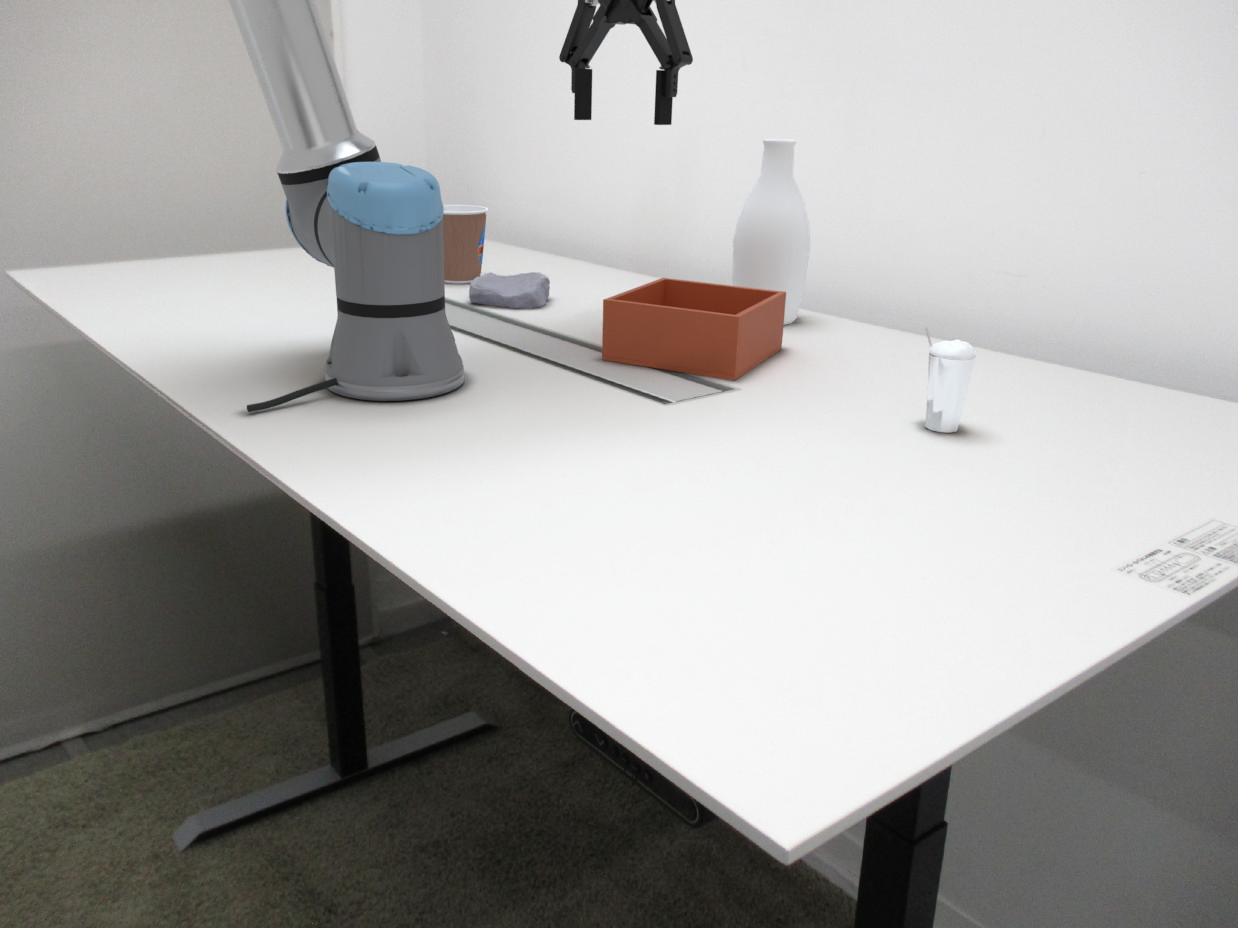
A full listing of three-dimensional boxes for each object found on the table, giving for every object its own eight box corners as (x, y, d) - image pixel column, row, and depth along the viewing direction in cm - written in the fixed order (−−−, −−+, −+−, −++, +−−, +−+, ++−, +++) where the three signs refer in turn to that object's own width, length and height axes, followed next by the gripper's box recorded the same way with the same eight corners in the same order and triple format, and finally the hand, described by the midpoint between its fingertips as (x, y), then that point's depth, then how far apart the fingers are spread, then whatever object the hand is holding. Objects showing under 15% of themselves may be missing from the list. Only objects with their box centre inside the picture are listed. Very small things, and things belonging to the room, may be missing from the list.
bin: (734, 380, 118) (739, 317, 115) (601, 360, 125) (603, 299, 123) (781, 349, 133) (786, 291, 130) (660, 332, 140) (662, 277, 138)
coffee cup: (496, 284, 170) (495, 211, 166) (435, 287, 166) (433, 212, 162) (481, 273, 179) (479, 204, 174) (423, 275, 175) (420, 205, 171)
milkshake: (922, 416, 107) (935, 324, 104) (971, 427, 104) (986, 332, 100) (903, 426, 104) (916, 331, 100) (954, 438, 101) (969, 340, 97)
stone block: (542, 320, 152) (552, 295, 161) (540, 291, 150) (550, 266, 158) (465, 319, 154) (479, 294, 162) (461, 290, 151) (476, 265, 159)
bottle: (746, 308, 157) (758, 136, 148) (814, 317, 152) (831, 140, 143) (715, 320, 148) (726, 139, 139) (786, 331, 143) (802, 143, 134)
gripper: (727, -59, 121) (715, 126, 129) (572, -48, 136) (570, 118, 143) (691, -67, 116) (681, 127, 123) (533, -55, 130) (533, 118, 138)
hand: (621, 122), depth 133 cm, fingers open, 13 cm apart
